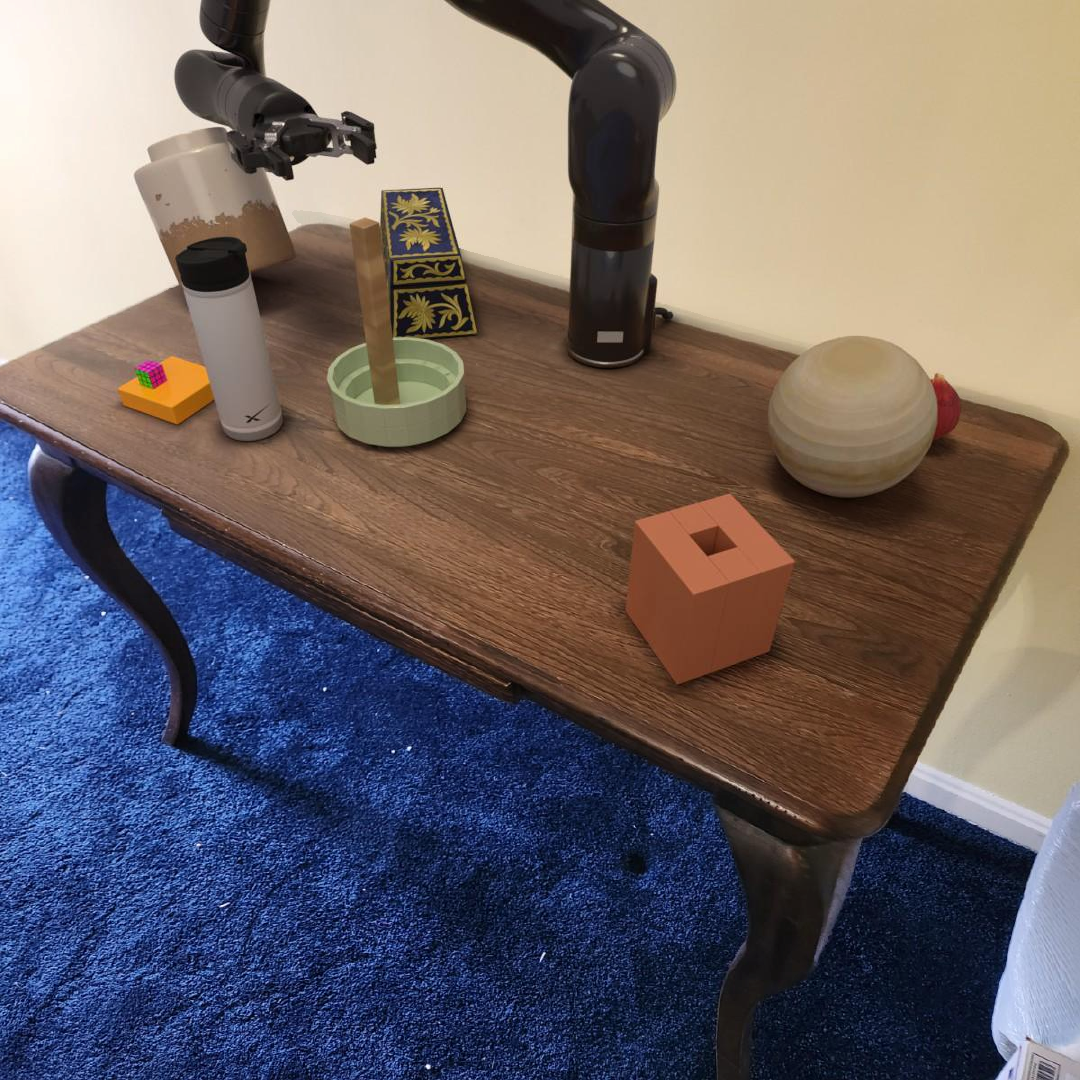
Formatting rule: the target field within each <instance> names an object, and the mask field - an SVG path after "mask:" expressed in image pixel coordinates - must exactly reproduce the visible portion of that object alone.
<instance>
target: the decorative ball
mask: <svg viewBox="0 0 1080 1080" xmlns="http://www.w3.org/2000/svg"><path fill="white" fill-rule="evenodd" d="M930 380H931V378H930V376H929V375H928V374H927V372H926V371H925V369H924V368H923V366H922V365H921V364H920V363H919V361H918V360H917V359H916V358H915V357H914V356H912V355H911V354H910V353H908V352H907V351H906V350H904V348H902V347H901V346H899V345H897V344H895V343H893V342H890V341H888V340H884V339H882V338H877V337H873V336H868V335H847V336H839V337H836V338H832V339H828V340H825V341H822V342H820V343H818V344H815V345H813V346H812V347H810V348H809V349H807V350H806V351H804V352H803V353H802V354H800V355H799V356H797V357H796V358H795V359H794V360H793V361H792V362H791V363H790V364H788V366H787V367H786V369H784V371H783V373H782V374H781V376H779V378H778V380H777V381H776V384H775V386H774V389H773V391H772V394H771V397H770V399H769V402H768V411H767V422H766V425H767V430H768V431H767V432H768V436H769V442H770V446H771V448H772V449H773V452H774V454H775V456H776V457H777V460H778V461H779V463H780V465H781V466H782V467H783V468H784V469H785V471H786V472H787V473H788V474H789V475H790V476H791V477H792V478H793V479H794V480H796V481H797V482H798V483H800V484H801V485H802V486H804V487H807V488H808V489H810V490H813V491H815V492H817V493H820V494H822V495H827V496H830V497H837V498H850V499H851V498H861V497H866V496H870V495H875V494H877V493H881V492H883V491H885V490H887V489H890V488H892V487H894V486H896V485H897V484H899V483H900V482H901V481H903V480H904V479H906V478H907V477H908V476H909V475H910V474H911V473H913V471H914V470H915V469H916V468H917V467H918V466H919V465H920V463H921V462H922V461H923V459H924V457H925V456H926V454H927V453H928V451H929V449H930V448H931V446H932V443H933V441H934V440H933V437H934V433H935V429H936V425H937V399H936V395H935V392H934V388H933V386H932V383H931V381H930Z"/></svg>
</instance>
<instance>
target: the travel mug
mask: <svg viewBox="0 0 1080 1080" xmlns="http://www.w3.org/2000/svg"><path fill="white" fill-rule="evenodd" d="M246 252H247V248H246V244H245V243H243V242H242V241H241V240H240V239H238V238H235V237H216V238H210V239H205V240H202V241H198V242H196V243H193V244H191V245H189V246H187V249H186V250H184V251H182V252H181V253H180V254H179V255H176V257H175V260H176V263H177V267H178V271H179V273H180V278H181V283H182V287H183V289H184V291H183V294H184V298H185V301H186V304H187V308H188V311H189V315H190V318H191V322H192V326H193V329H194V332H195V336H196V339H197V343H198V346H199V347H198V348H199V351H200V354H201V357H202V361H203V364H204V366H205V368H206V371H207V375H208V378H209V382H210V385H211V389H212V393H213V396H214V400H213V401H214V403H215V406H216V410H217V413H218V416H219V420H220V423H221V424H220V425H221V427H222V431H223V434H225V435H226V436H227V437H229V438H231V439H233V440H236V441H243V442H253V441H260V440H264V439H266V438H268V437H270V436H273V435H274V434H275V433H277V432H278V431H279V430H280V429H281V428H282V425H283V423H284V417H283V411H282V408H281V403H280V398H279V395H278V390H277V386H276V380H275V377H274V371H273V368H272V364H271V363H272V362H271V359H270V354H269V350H268V346H267V341H266V337H265V332H264V327H263V323H262V319H261V315H260V310H259V306H258V305H259V304H258V301H257V296H256V292H255V288H254V283H253V280H252V275H251V272H249V268H248V266H247V259H246V255H245V253H246Z"/></svg>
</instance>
